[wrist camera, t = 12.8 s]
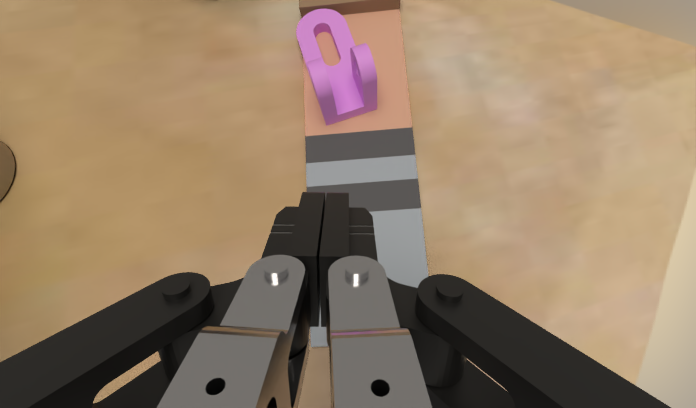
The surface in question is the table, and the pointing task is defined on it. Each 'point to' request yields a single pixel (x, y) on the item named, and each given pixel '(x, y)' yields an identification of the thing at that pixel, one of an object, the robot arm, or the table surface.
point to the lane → (370, 143)
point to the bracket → (338, 67)
